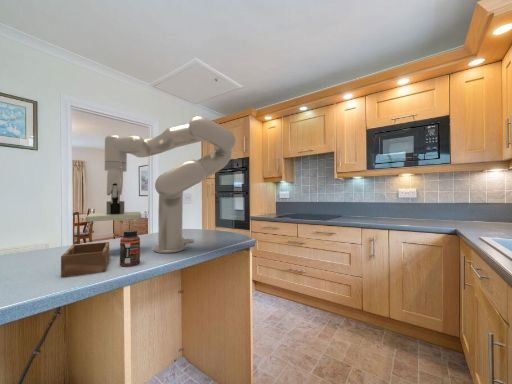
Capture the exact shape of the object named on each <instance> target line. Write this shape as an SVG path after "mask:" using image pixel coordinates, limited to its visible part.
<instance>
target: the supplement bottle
mask: <svg viewBox="0 0 512 384" xmlns="http://www.w3.org/2000/svg"><path fill="white" fill-rule="evenodd" d="M140 260H141V237H140V236H139V235H138V230H136V229H126V230H124V231H123V236H122V237H121V238H120V240H119V265H121V266H122V267H133V266H136V265H137V264H139V263H140V262H141V261H140Z"/></svg>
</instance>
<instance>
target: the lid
mask: <svg viewBox="0 0 512 384" xmlns="http://www.w3.org/2000/svg"><path fill="white" fill-rule="evenodd" d="M110 204H111V200H110V201H106V212H100V213H99V212H97V213H94V212H93V213H89V214H88V215H85V222H86V223H87V222H101V221H102V222H106V221H108V222H109V221H125V220H141V219H142V213H141V211H125V200H120V201H119V204H120V213H119V214H111V213H110Z"/></svg>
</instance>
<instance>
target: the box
mask: <svg viewBox="0 0 512 384" xmlns="http://www.w3.org/2000/svg"><path fill="white" fill-rule="evenodd" d="M109 261H110V242H109V241H106V242H93V243H82V244H72V245H71V246H70V247H69V248H68V249H67V250H66V251H65V252H63V254H61V256H60V278H66V277H75V276H76V277H77V276H82V275H89V274H90V275H91V274H96V273H97V274H98V273H104V272H106V271H107V268H108V264H109Z"/></svg>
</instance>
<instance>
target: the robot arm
mask: <svg viewBox="0 0 512 384" xmlns="http://www.w3.org/2000/svg"><path fill="white" fill-rule="evenodd" d="M203 141H205V142H207V143H209V144H211V145H213V151H212V152H210V153H208V154H206V155H204V156H203V157H201V158H199V159H197V160H196V159H190V160H186V161H185V162H182V163H180V164H179V165H177V166H175V167H173V168H171V169H169V170H167V171H166V172H164V173H162V174H160V175H159V176H158V177H157V178H156V180H155V183H154V187H155V188H154V189H155V190H156V192H157V194H158V210H157V211H158V213H157V214H158V225H157V226H158V231H157V232H158V233H157V234H158V241H157V242H158V245H157V246H154V248H153V249H154V250H153V251H154V252H155V253H158V254H171V253H178V252H183V251H184V250H185V251H186V249H187V244H189V245H190V244H194V243H195V239H194V238H184V237H183V211H184V210H183V204H184V203H183V202H184V201H183V200H184V199H183V198H184V197H183V196H184V191H186V190H188V189H190V188H192V187H194V186H195V185H197V184H200V183H201V182H203V181H204V180H206V179H207V178H209V177H210V176H212V175H214V174H215V173H217V172H219V171H221V170H223V169H224V168H225V167H226V166H227V165H228V164H229V162H230V160H231V158H232V153H233V152H232V150H233V148H234V147H235V145H236V136H235V134H234V133H233V132H232V131H231V130H229V129H228V128H226V127H224V126H222V125H221V124H218V123H217V122H215V121H213V120H211V119H209V118H207V117H205V116H201V115H197V116H194V117H192V118H191V119H190V120H189V122H188V123H183V124H180V125H174V126H169V127H168V128H166V129H165V130H164V131H162V133H160V134H158V135H157V136H154V137H150V138H146V139H143V137H141V136H138V135H116V134H115V135H114V134H113V135H112V134H111V135H110V134H109V135H106V136H105V138H104V171H105V172H107V173H106V196H108V197H109V196H110V201H111V204H110V213H111V214H119V213H120V204H119V201H121V200H120V198H121V195H122V194H123V187H124V183H123V182H124V172H127V169H128V168H127V166H128V164H127V161H128V160H127V156H128V154H130V155H133V156H135V157H136V158H147V157H151V156H155V155H159V154H162V153H165V152H167V151H172V150H173V149H175V148H176V149H177V148H179V147H183V146H188V145H192V144H195V143H199V142H203Z"/></svg>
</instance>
